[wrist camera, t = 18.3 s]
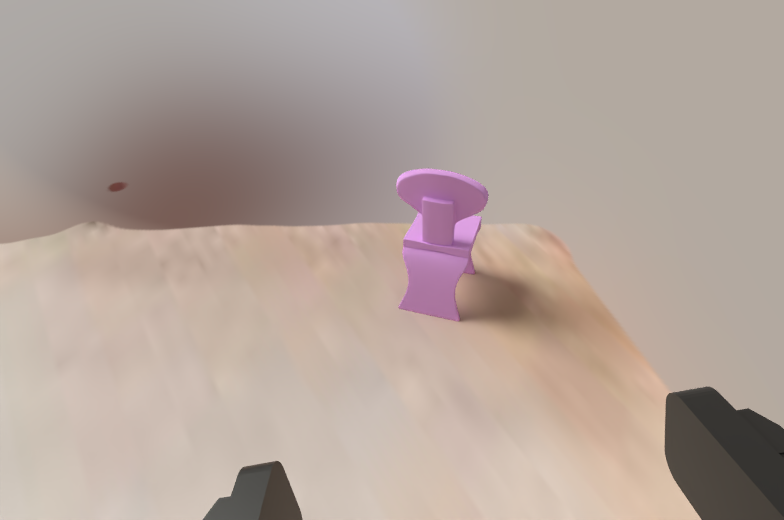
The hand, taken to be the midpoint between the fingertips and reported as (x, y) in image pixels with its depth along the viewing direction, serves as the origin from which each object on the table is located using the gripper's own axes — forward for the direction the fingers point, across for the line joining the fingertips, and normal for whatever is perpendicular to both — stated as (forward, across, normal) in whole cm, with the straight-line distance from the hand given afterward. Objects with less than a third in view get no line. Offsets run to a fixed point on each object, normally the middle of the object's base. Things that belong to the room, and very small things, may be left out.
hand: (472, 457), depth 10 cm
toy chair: (+39, -1, +16) cm, 42 cm away
